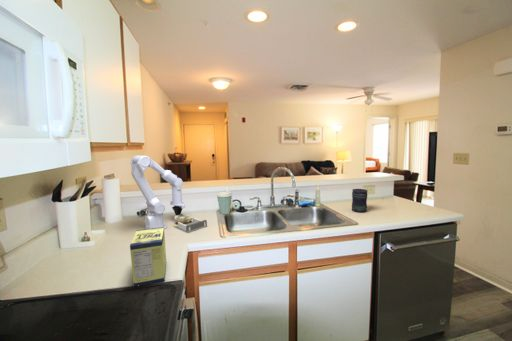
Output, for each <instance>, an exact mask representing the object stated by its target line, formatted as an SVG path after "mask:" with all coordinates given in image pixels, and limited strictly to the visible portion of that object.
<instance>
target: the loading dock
mask: <svg viewBox="0 0 512 341" xmlns="http://www.w3.org/2000/svg"><path fill="white" fill-rule="evenodd" d="M192 219H193V220H191V221H192V222H191V223H190V222H189V221H187V222H184V224H182V223H180V222H178V224H175V225H172V227H173V228H176V229H178V230H180V231H182V232H184V233H186V234H190V233H192V232H196V231H199V230H201V229H203V228H204V229H205V228H207V227H208V225H207V224H208V221H207V219H203V220H201V219H198V218H196V217H192Z"/></svg>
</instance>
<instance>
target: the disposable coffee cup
mask: <svg viewBox="0 0 512 341" xmlns="http://www.w3.org/2000/svg"><path fill="white" fill-rule="evenodd" d="M216 197H217V202H218V208H219V214H221V215H228V214H230V212H231V205H232V197H233V194H232V192H231V191H229V190H228V191H220V192H217V194H216Z"/></svg>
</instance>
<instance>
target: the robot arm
mask: <svg viewBox="0 0 512 341" xmlns="http://www.w3.org/2000/svg"><path fill="white" fill-rule="evenodd" d="M130 165H131V170H130V171H131V176H132V178H133V180H134V182H135V183H136V185H137V187H138V188H139V190H140V192H141V194H142V196H143V197H144V200H146V202H145V204H146V209H147V210H148V211H149V215H145V218H144V220H145V222H144V223H145V228H144V229H152V228H160V227H164V229H167V228H168V227H167V226H166V225H165V222H164V221H165V220H164V212H165V211H166V206H165V204H164V203H162V202H161V200H160V199H158V198H157V196H156V195H155V193H154V191H153V190H152V188H151V186H150V184H149V181H148V180H147V178H146V177H145V175H144V173H145V171H147V169H148V168H151V169H152V170H153V171H155V172H157V173H159V174H160V175H161V178H162V179H163V180H164V181H166V182H168V183H169V185H170V186H171V195H172V196H171V198H172V201H170V204H169V205H170V206H171V205H172V207H171V209H172V210H173V212H174V214H175V215H174V216H177V215H180V214H182V211H183V209H185V208H186V204H185V202H184V201H183V197H182V196H183V194H182V193H183V191H182V189H183V188H182V187H183V184H184V181H183V180H182V178H180V177H178V175H177V174H174V173H173V172H172V170H170V169H169V170H168V169H164V168H163V167H162V166H161V165H159V163H157V162H156V161H155V160H154V159H152V158H151V157H149V156H148V155H140V154H139V155H137V154H136V155H134V156H133V157H132V158H131V161H130Z"/></svg>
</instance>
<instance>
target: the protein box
mask: <svg viewBox="0 0 512 341" xmlns="http://www.w3.org/2000/svg"><path fill="white" fill-rule="evenodd" d="M165 238H166V237H165V228H164V227H160V228H152V229H145V228H144V229H138V230H136V232H135V234H134V237H133V238H132V240H131V242H130V245H129V249H130V250H129V251H130V261H131V271H132V272H131V273H132V274H131V275H132V281H133V283H132V284H133V287H134V286H137V287H139V286H138V285H142V286H146V285H145V284H147V285H152V284H151V283H153V284H157V283H163V282H165V280H166V271H167V250H166V239H165Z"/></svg>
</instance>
